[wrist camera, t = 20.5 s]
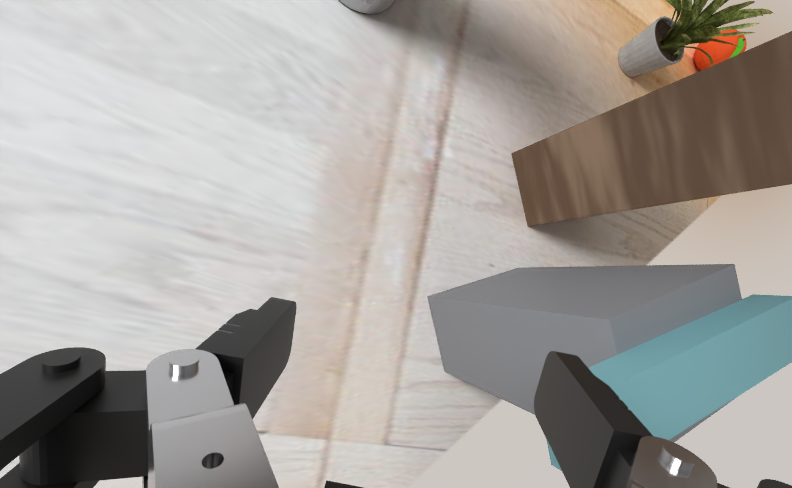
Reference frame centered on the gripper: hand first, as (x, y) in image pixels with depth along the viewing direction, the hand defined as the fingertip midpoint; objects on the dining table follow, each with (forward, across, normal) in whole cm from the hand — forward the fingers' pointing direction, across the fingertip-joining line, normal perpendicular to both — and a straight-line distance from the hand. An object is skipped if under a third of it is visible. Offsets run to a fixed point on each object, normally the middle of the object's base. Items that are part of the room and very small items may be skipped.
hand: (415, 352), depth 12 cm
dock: (+33, -11, +11) cm, 36 cm away
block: (+12, -18, +4) cm, 22 cm away
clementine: (+66, -46, -33) cm, 87 cm away
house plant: (+58, -31, -29) cm, 71 cm away
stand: (+43, -19, -7) cm, 48 cm away
